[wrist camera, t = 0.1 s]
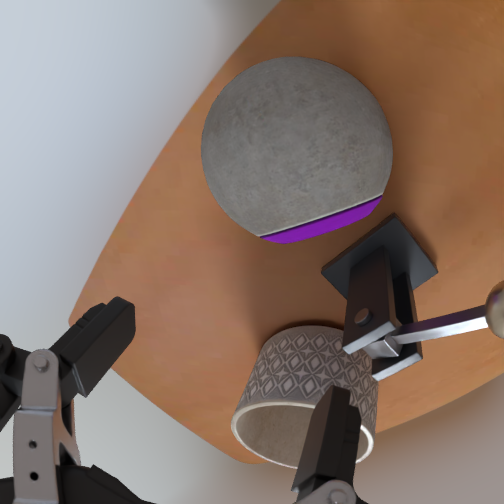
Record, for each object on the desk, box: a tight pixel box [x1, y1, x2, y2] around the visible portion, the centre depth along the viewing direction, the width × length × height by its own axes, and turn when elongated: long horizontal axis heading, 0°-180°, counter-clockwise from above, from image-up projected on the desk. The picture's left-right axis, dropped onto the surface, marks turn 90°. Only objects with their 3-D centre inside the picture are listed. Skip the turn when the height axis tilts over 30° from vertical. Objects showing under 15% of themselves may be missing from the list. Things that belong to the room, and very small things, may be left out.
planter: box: [231, 326, 378, 469], centre depth 36 cm, size 16×16×13 cm
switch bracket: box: [321, 213, 438, 381], centre depth 27 cm, size 10×8×13 cm
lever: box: [362, 280, 504, 359], centre depth 19 cm, size 14×4×4 cm, turn 138°
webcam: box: [201, 57, 393, 244], centre depth 22 cm, size 13×13×15 cm
